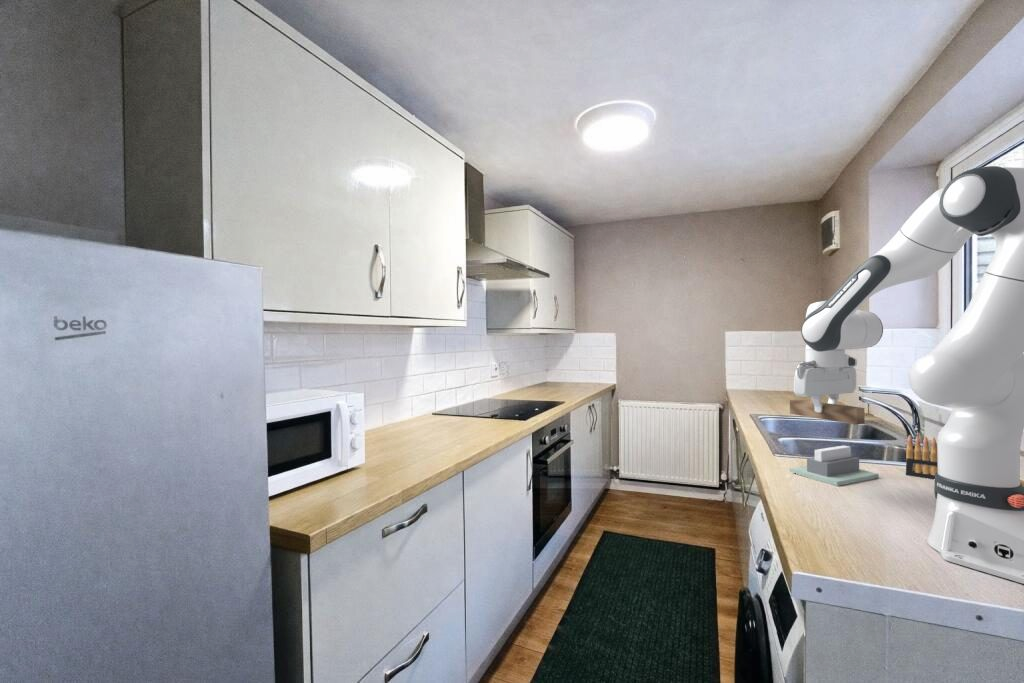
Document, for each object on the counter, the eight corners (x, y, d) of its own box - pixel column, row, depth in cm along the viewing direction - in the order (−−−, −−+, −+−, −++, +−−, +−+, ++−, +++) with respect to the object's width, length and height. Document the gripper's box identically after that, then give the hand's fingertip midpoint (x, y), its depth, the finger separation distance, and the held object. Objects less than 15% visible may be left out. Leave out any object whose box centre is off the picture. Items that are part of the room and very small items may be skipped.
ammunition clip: (905, 475, 135) (905, 434, 135) (906, 473, 137) (905, 433, 136) (955, 482, 128) (955, 440, 128) (956, 481, 129) (955, 439, 129)
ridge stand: (878, 477, 133) (878, 450, 133) (836, 486, 126) (836, 457, 126) (829, 465, 146) (829, 440, 146) (789, 472, 139) (789, 446, 139)
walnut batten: (864, 423, 116) (864, 407, 116) (856, 424, 115) (856, 408, 115) (797, 412, 133) (797, 399, 133) (789, 413, 132) (789, 399, 132)
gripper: (809, 362, 117) (809, 416, 117) (861, 359, 124) (861, 410, 125) (786, 361, 123) (787, 412, 123) (837, 358, 130) (837, 407, 130)
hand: (825, 411), depth 124 cm, fingers closed on walnut batten, 3 cm apart
